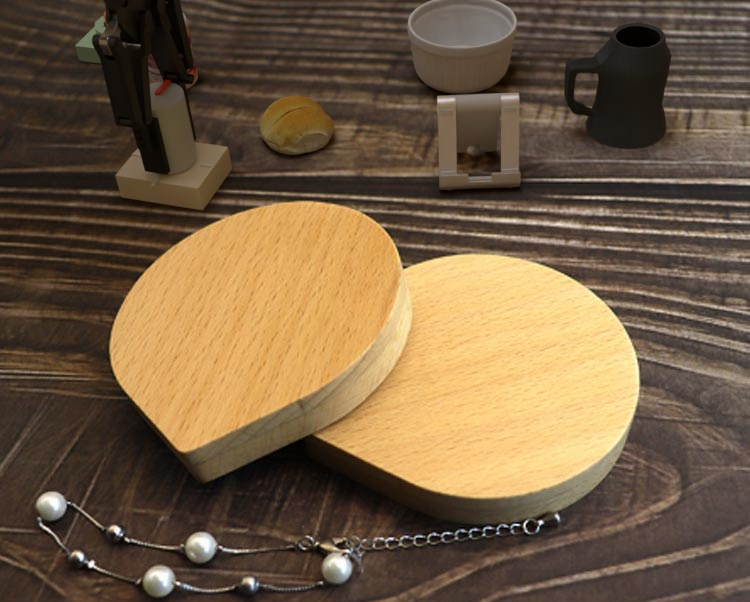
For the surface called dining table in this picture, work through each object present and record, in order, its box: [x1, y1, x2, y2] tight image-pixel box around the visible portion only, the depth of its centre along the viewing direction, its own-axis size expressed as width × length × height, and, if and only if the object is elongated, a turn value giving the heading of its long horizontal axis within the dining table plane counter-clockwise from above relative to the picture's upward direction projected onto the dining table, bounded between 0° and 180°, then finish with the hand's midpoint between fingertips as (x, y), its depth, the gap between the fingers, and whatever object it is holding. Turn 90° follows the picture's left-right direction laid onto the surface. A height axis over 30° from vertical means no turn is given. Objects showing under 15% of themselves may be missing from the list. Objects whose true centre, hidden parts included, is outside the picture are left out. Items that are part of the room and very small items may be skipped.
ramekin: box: [407, 0, 518, 95], centre depth 124 cm, size 13×13×7 cm
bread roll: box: [259, 95, 335, 156], centre depth 118 cm, size 8×9×4 cm
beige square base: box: [114, 141, 233, 211], centre depth 113 cm, size 10×10×3 cm
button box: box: [74, 15, 140, 65], centre depth 134 cm, size 10×8×4 cm
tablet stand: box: [436, 91, 522, 191], centre depth 109 cm, size 9×8×8 cm
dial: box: [150, 80, 197, 175], centre depth 109 cm, size 6×6×8 cm
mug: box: [563, 22, 672, 150], centre depth 113 cm, size 12×9×11 cm
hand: (171, 154), depth 111 cm, fingers closed on dial, 6 cm apart
